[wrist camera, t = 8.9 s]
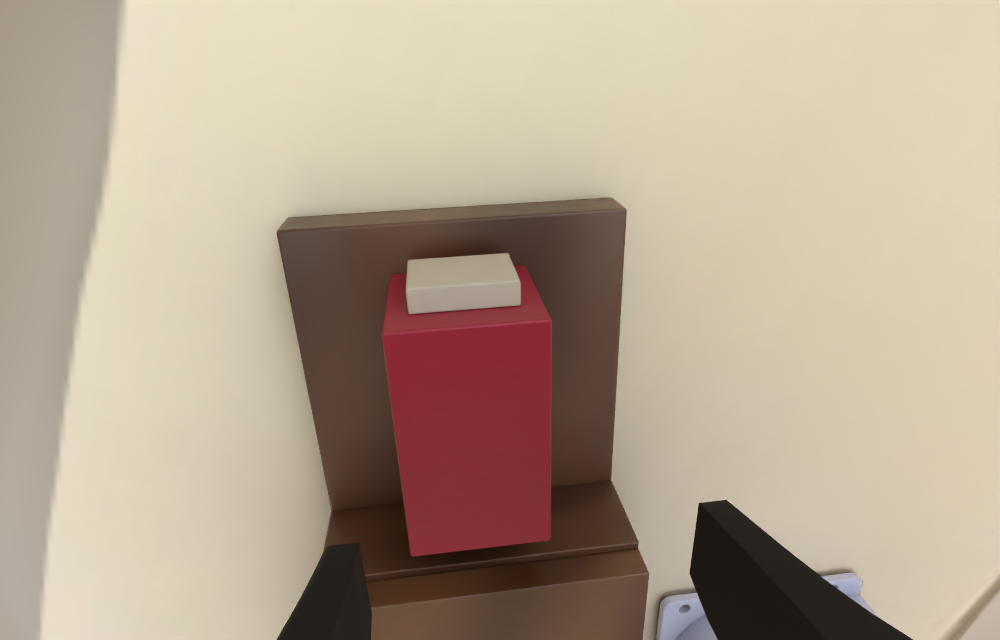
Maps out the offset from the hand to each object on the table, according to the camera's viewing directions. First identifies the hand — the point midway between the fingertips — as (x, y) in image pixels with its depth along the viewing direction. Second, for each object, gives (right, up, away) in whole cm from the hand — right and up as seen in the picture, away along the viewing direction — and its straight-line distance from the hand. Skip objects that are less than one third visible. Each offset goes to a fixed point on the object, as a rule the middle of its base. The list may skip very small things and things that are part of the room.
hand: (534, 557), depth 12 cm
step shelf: (-2, -1, +10) cm, 10 cm away
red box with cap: (-2, +3, +6) cm, 7 cm away
